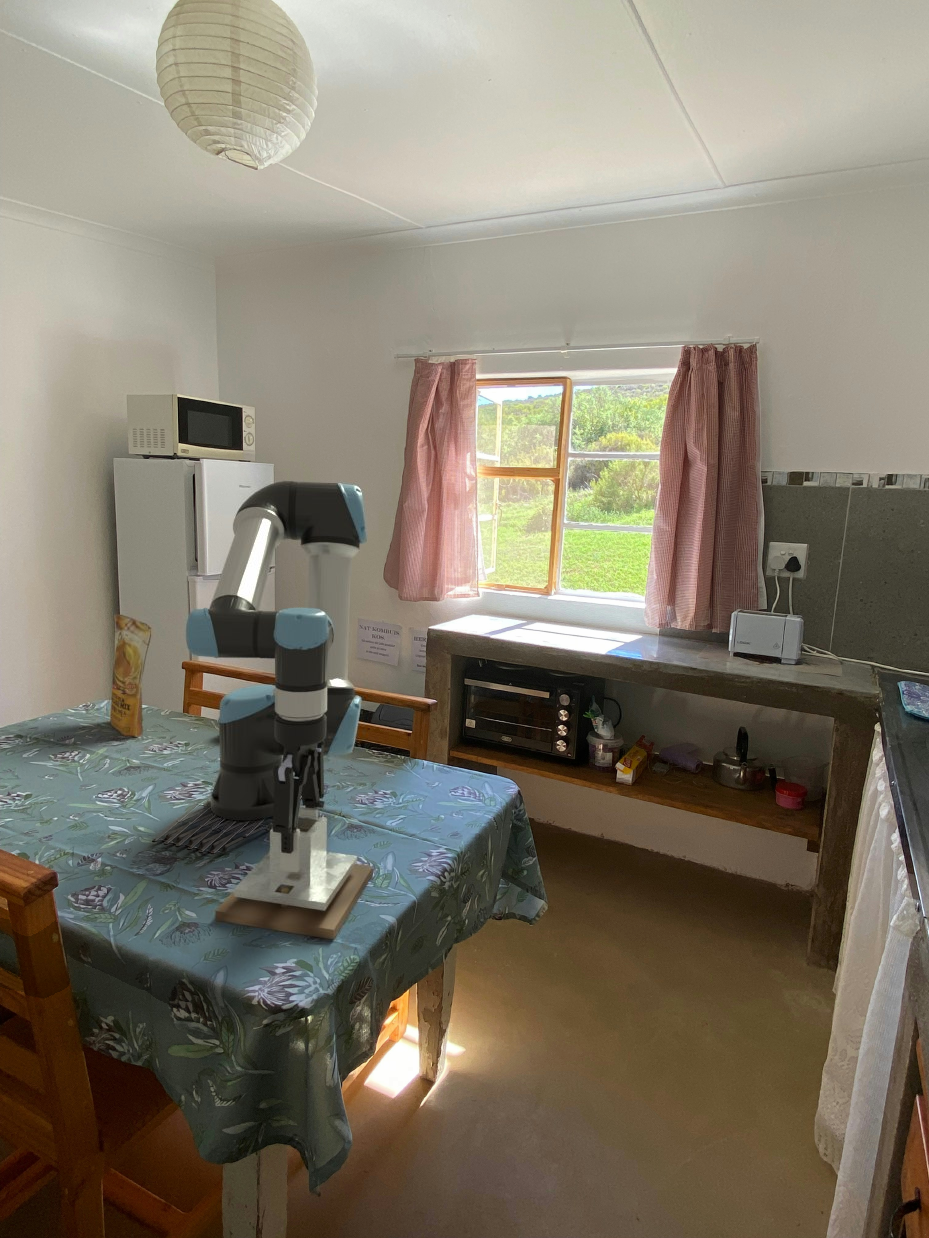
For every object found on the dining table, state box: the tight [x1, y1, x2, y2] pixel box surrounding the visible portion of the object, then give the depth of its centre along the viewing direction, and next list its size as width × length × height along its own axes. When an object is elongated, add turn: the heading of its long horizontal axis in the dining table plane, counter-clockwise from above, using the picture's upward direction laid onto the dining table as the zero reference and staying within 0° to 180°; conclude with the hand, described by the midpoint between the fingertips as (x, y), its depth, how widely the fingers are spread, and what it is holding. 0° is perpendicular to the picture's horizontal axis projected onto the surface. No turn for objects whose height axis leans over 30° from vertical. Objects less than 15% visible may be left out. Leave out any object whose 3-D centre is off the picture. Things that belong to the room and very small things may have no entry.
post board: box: [214, 863, 374, 940], centre depth 111 cm, size 18×18×10 cm
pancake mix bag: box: [109, 613, 153, 738], centre depth 180 cm, size 7×19×28 cm, turn 42°
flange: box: [233, 813, 358, 911], centre depth 110 cm, size 14×14×9 cm
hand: (299, 858), depth 111 cm, fingers closed on flange, 6 cm apart
